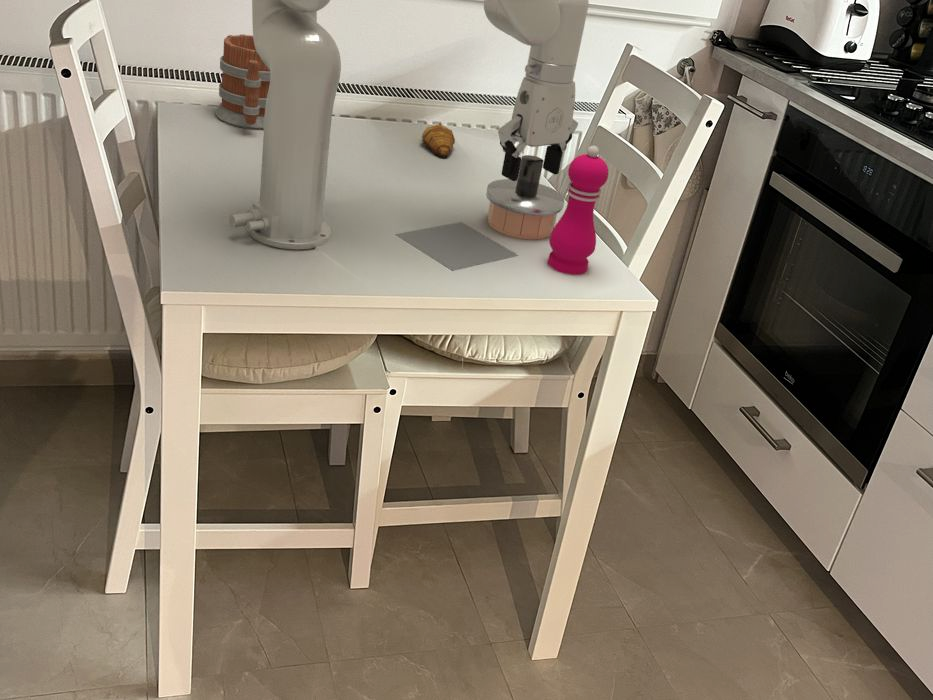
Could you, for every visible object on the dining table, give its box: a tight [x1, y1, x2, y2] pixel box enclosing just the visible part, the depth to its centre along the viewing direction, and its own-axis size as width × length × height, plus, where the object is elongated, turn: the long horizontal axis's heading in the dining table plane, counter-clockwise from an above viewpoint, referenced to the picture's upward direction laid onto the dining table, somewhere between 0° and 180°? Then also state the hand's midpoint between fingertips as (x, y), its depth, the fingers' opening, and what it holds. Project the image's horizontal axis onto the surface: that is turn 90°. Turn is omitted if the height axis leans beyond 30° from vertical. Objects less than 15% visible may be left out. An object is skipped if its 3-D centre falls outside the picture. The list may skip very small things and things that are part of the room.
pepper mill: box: [547, 145, 609, 276], centre depth 153 cm, size 7×7×20 cm
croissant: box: [421, 123, 456, 158], centre depth 199 cm, size 14×7×5 cm, turn 14°
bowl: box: [487, 200, 558, 241], centre depth 168 cm, size 11×11×5 cm
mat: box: [395, 221, 519, 272], centre depth 158 cm, size 14×14×1 cm
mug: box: [215, 34, 271, 130], centre depth 192 cm, size 14×19×15 cm
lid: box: [485, 154, 565, 216], centre depth 165 cm, size 13×13×7 cm
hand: (530, 174), depth 165 cm, fingers open, 9 cm apart
